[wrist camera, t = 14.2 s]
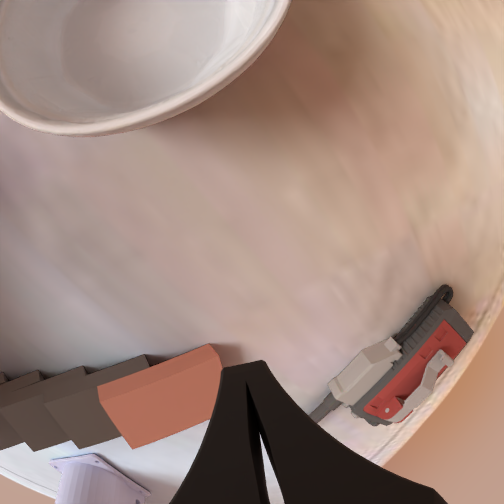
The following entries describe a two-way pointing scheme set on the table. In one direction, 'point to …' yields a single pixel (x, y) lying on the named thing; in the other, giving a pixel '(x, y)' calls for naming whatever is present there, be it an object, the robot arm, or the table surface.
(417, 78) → the table surface
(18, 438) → the domino
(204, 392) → the red domino
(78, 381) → the domino
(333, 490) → the robot arm
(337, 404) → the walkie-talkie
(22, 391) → the domino
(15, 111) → the ramekin
